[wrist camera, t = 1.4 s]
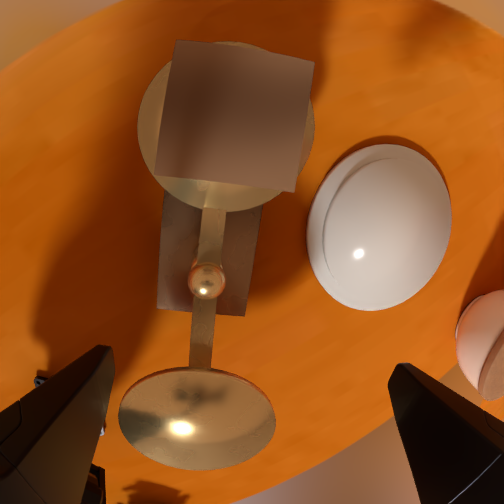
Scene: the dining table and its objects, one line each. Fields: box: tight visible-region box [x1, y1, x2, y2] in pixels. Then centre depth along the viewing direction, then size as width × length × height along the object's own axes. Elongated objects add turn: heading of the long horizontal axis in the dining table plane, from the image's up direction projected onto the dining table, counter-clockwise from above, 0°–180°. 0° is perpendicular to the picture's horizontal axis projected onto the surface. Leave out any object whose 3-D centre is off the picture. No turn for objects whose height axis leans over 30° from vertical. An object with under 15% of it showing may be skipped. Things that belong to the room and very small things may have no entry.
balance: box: [118, 41, 315, 470], centre depth 18 cm, size 25×9×8 cm, turn 171°
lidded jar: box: [455, 290, 504, 401], centre depth 23 cm, size 11×11×9 cm
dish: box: [306, 144, 452, 311], centre depth 22 cm, size 13×13×1 cm
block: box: [154, 40, 315, 193], centre depth 13 cm, size 5×5×5 cm
